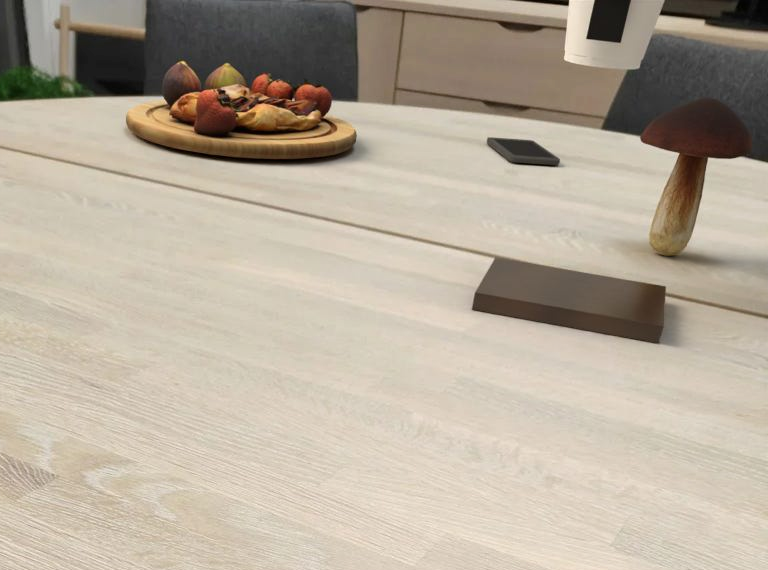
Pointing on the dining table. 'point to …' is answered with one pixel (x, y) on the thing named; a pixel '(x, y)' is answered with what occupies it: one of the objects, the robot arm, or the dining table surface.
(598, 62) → the foam cup
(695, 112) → the decorative mushroom
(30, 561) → the dining table surface
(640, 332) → the walnut board
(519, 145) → the cell phone
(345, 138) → the wooden plate
